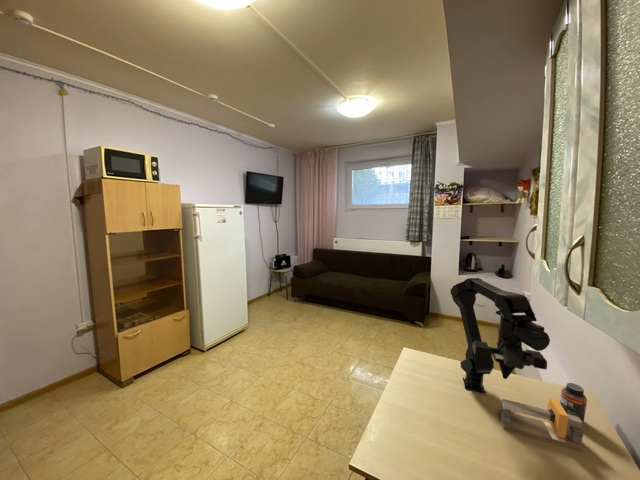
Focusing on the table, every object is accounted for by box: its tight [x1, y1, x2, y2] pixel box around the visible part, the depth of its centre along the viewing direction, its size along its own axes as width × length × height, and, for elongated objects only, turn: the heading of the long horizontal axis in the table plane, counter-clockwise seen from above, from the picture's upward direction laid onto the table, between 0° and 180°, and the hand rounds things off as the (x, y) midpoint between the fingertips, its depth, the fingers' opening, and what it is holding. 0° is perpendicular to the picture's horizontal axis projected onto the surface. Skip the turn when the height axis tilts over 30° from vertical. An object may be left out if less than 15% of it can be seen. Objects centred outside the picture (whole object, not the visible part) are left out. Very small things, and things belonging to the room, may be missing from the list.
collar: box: [546, 397, 569, 438], centre depth 78 cm, size 7×2×7 cm, turn 158°
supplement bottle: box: [559, 382, 588, 425], centre depth 84 cm, size 6×6×11 cm
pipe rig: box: [497, 398, 585, 452], centre depth 80 cm, size 7×19×7 cm, turn 68°
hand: (504, 378), depth 84 cm, fingers closed
